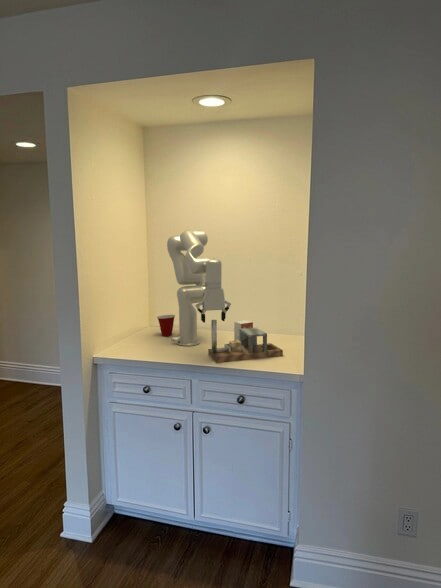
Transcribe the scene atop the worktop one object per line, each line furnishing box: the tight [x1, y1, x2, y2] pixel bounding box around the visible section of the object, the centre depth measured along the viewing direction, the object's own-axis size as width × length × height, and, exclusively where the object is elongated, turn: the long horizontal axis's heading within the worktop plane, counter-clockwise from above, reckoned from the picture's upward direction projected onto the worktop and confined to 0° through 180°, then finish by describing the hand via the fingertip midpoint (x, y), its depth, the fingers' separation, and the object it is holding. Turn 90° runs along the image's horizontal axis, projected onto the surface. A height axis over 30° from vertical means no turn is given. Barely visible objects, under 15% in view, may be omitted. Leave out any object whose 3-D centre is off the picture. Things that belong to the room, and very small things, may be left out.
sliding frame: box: [210, 319, 244, 353], centre depth 207 cm, size 15×7×16 cm, turn 108°
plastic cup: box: [156, 314, 176, 337], centre depth 253 cm, size 11×11×12 cm
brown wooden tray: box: [207, 327, 284, 364], centre depth 210 cm, size 34×14×12 cm, turn 108°
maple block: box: [228, 340, 241, 352], centre depth 209 cm, size 4×4×4 cm
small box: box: [233, 319, 254, 341], centre depth 229 cm, size 8×6×13 cm
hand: (213, 321), depth 204 cm, fingers open, 9 cm apart
